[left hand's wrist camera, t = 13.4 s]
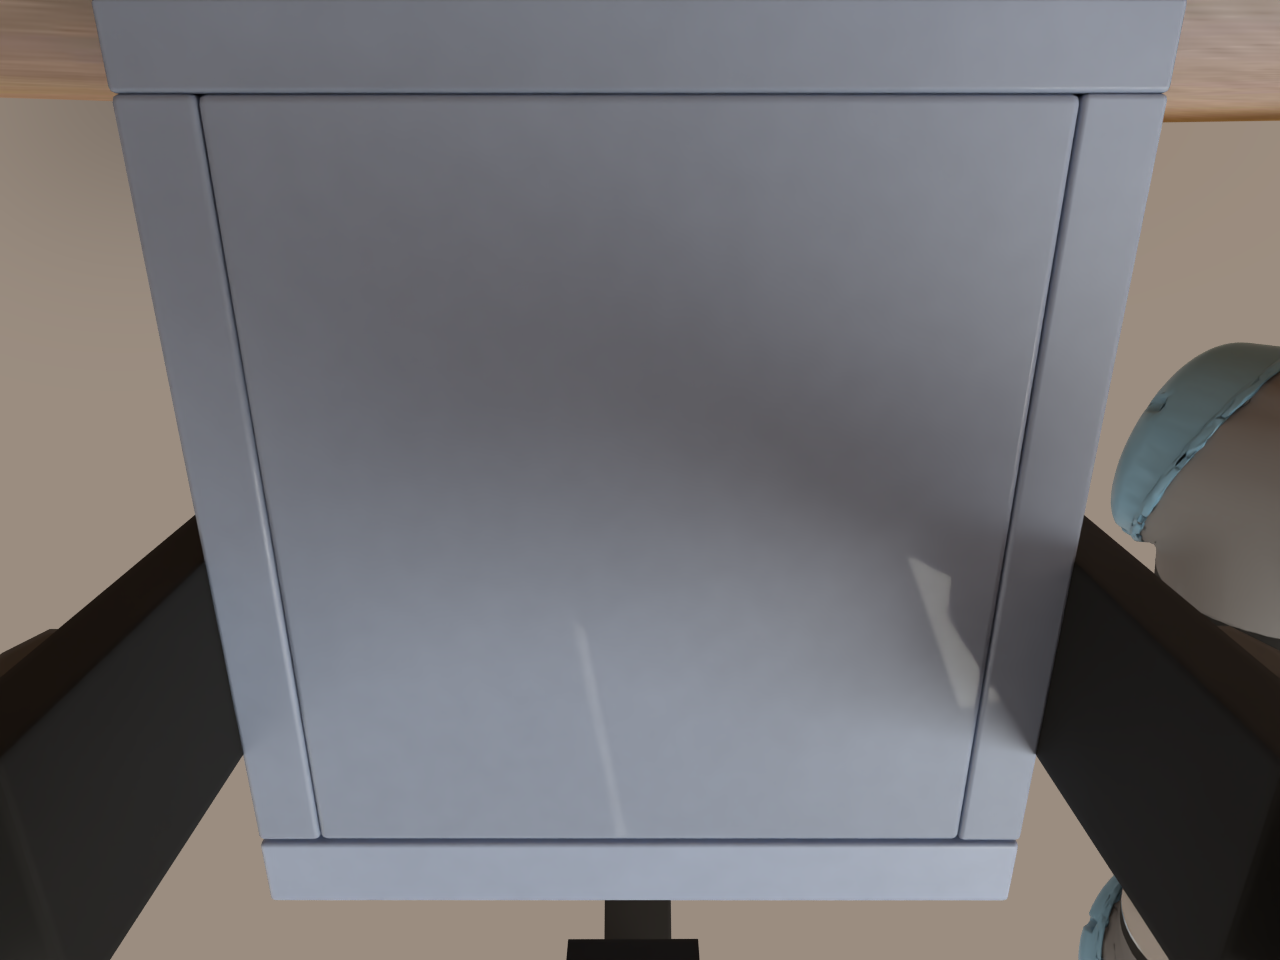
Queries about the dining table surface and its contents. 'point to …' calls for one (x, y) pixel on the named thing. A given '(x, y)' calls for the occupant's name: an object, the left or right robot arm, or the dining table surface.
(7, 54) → the dining table surface
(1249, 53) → the dining table surface
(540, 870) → the lid
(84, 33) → the dining table surface
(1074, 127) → the chest
